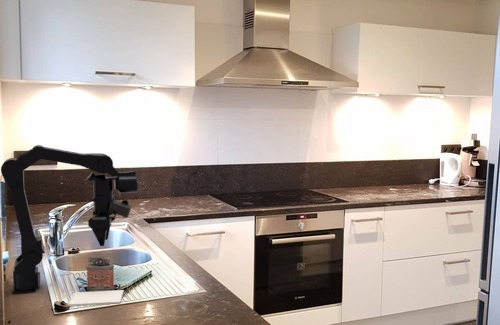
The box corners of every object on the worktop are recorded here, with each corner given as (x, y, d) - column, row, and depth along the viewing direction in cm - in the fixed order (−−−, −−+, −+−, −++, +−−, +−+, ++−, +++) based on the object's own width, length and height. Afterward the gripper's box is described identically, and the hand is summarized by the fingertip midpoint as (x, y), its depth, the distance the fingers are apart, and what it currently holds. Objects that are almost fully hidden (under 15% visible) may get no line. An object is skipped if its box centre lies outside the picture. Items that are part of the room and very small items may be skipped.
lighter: (115, 287, 148) (114, 255, 147) (112, 291, 145) (112, 258, 143) (88, 287, 148) (87, 255, 147) (85, 291, 144) (84, 258, 143)
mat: (67, 306, 133) (67, 304, 133) (74, 294, 142) (74, 292, 142) (120, 303, 135) (120, 301, 135) (123, 291, 144) (123, 289, 144)
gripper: (126, 198, 144) (127, 250, 145) (132, 189, 162) (132, 234, 164) (87, 199, 142) (88, 251, 144) (97, 189, 161) (98, 235, 162)
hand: (104, 242), depth 153 cm, fingers open, 7 cm apart
